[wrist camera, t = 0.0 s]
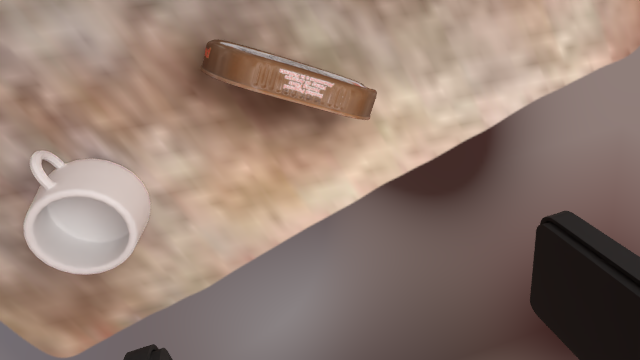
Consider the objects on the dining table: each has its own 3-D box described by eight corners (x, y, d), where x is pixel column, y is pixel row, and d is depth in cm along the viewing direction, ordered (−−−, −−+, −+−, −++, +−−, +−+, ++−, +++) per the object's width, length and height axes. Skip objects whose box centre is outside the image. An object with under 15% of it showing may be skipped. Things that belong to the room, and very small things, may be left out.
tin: (200, 63, 36) (197, 85, 28) (208, 27, 35) (207, 40, 27) (351, 105, 41) (381, 133, 34) (362, 75, 40) (396, 98, 32)
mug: (171, 215, 42) (165, 249, 36) (86, 256, 41) (68, 297, 36) (96, 116, 36) (77, 139, 30) (-3, 163, 36) (-40, 195, 30)
